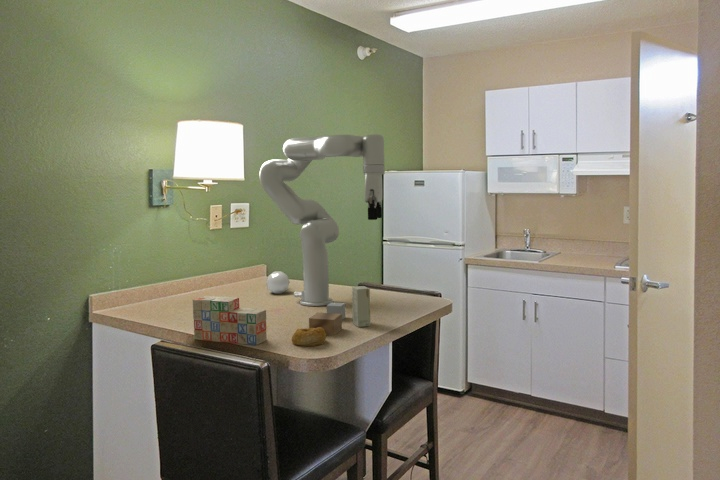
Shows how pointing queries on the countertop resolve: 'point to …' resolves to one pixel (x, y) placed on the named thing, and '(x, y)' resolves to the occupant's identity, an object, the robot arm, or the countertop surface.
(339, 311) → the grey block
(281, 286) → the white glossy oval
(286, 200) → the robot arm
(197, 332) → the stack of blocks
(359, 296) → the skincare box
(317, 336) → the bagel
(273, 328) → the countertop surface
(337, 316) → the walnut block
